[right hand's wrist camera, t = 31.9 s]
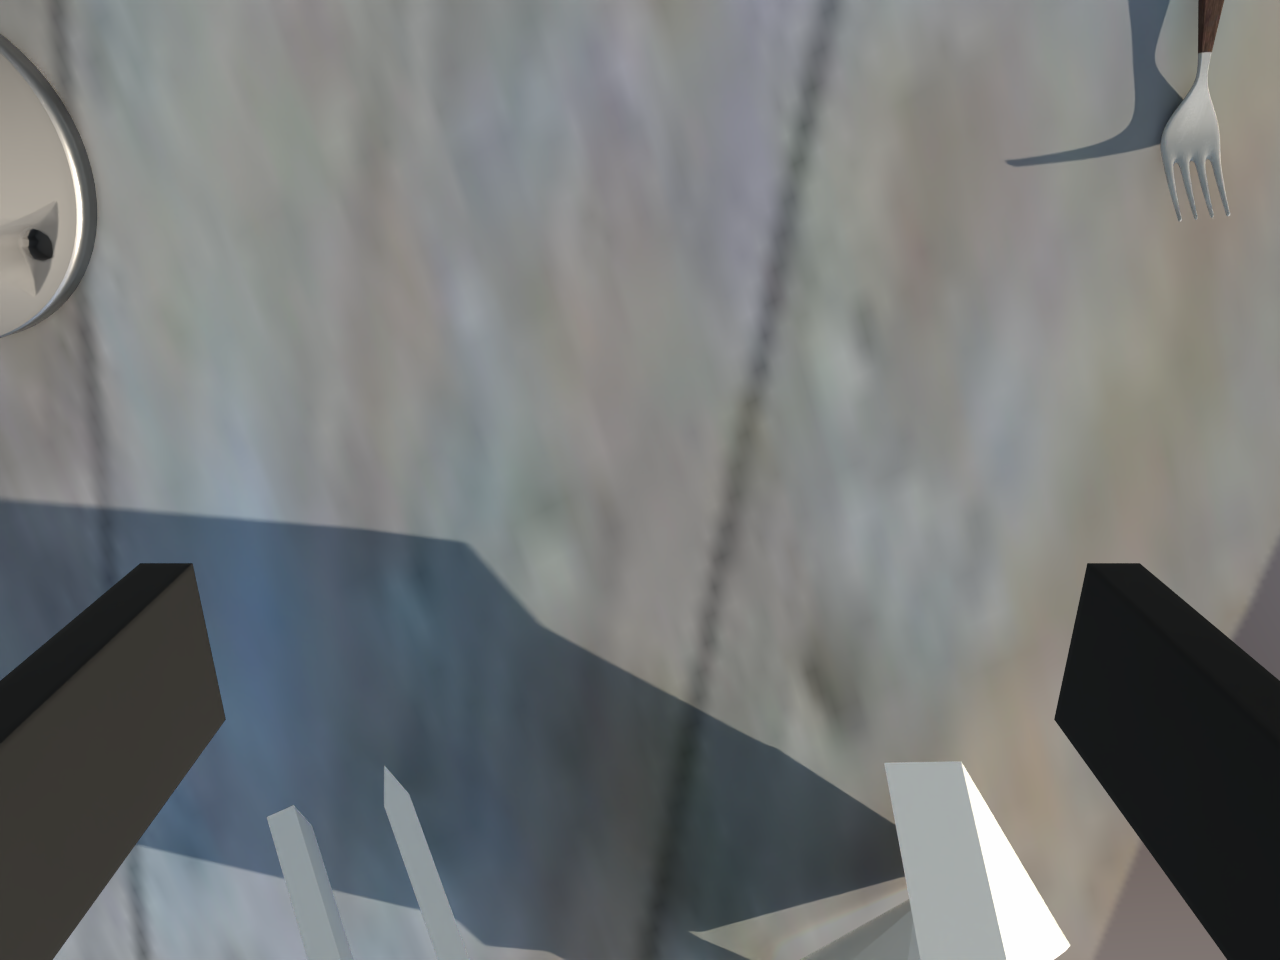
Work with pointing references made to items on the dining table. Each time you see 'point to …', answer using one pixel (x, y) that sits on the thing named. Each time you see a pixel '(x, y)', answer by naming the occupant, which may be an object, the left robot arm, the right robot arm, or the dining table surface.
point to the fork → (1196, 121)
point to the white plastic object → (868, 956)
